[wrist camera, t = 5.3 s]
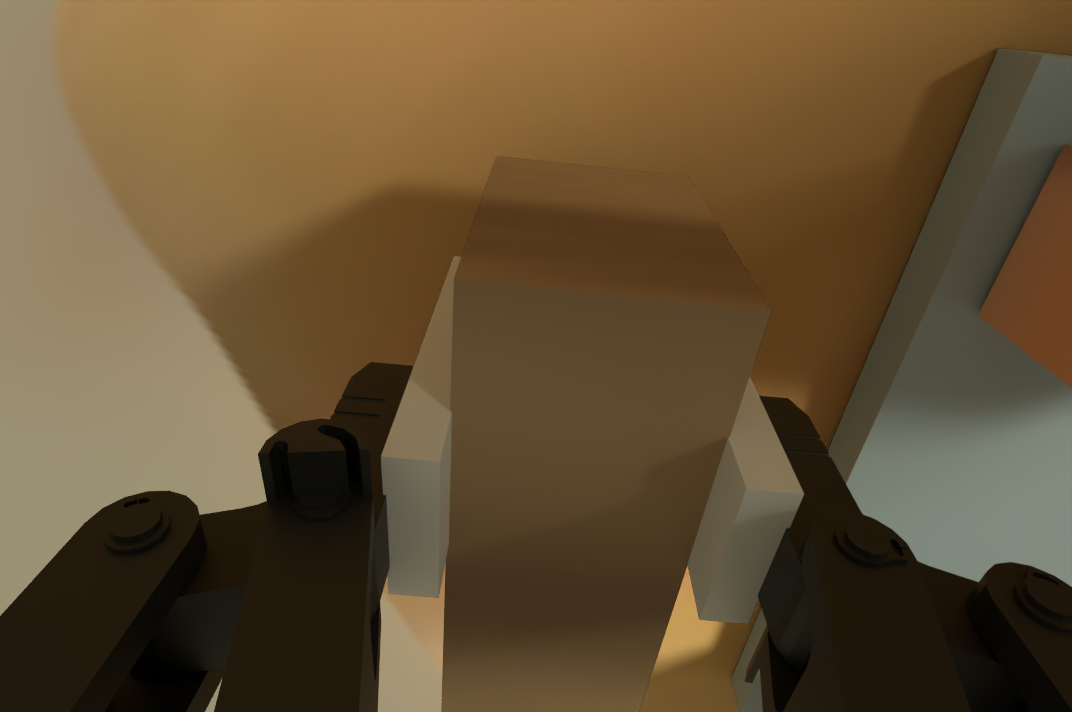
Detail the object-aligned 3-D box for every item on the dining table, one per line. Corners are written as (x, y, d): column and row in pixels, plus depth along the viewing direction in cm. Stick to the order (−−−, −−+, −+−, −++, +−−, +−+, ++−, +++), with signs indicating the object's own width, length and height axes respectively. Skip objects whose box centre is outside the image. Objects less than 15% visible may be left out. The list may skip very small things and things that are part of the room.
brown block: (496, 156, 13) (453, 277, 8) (689, 176, 13) (771, 309, 8) (472, 553, 19) (439, 764, 14) (602, 565, 19) (616, 780, 14)
